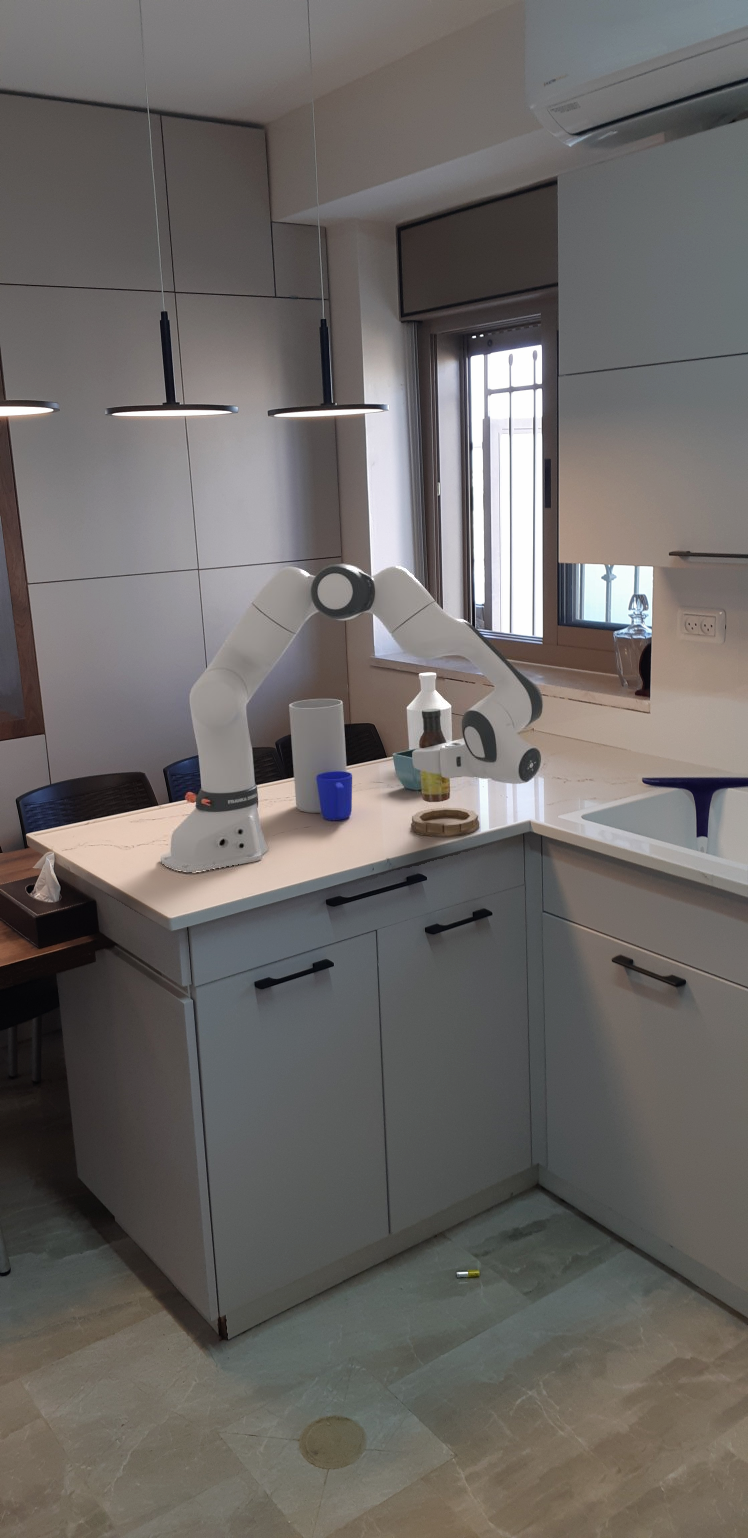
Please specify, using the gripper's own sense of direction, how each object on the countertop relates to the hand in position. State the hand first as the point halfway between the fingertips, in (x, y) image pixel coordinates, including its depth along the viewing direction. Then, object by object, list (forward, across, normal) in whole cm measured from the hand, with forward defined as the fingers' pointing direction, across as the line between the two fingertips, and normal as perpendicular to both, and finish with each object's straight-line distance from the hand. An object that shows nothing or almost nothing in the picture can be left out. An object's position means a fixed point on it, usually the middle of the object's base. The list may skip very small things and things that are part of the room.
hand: (431, 747), depth 251 cm
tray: (-2, -1, +18) cm, 18 cm away
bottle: (+44, -38, +18) cm, 61 cm away
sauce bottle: (-1, 0, +12) cm, 12 cm away
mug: (+21, +11, +17) cm, 29 cm away
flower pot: (+29, -20, +18) cm, 39 cm away
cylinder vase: (+33, +7, +17) cm, 38 cm away
